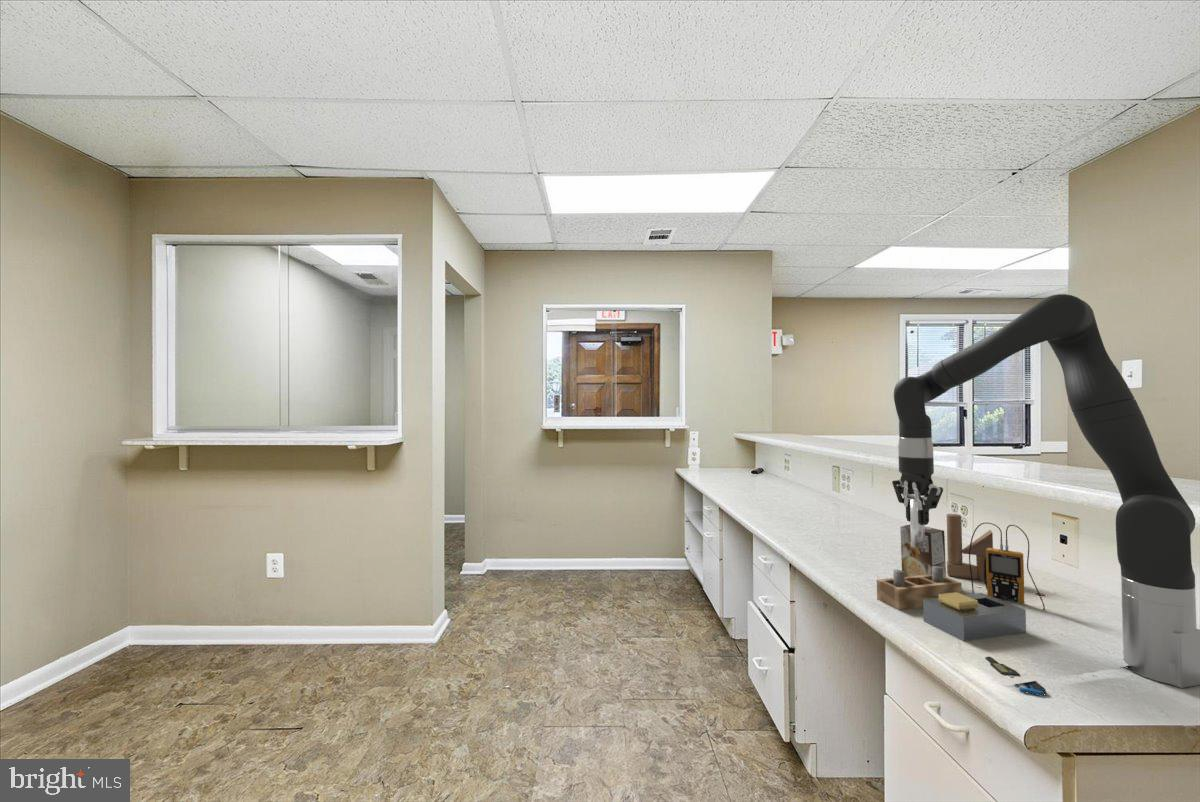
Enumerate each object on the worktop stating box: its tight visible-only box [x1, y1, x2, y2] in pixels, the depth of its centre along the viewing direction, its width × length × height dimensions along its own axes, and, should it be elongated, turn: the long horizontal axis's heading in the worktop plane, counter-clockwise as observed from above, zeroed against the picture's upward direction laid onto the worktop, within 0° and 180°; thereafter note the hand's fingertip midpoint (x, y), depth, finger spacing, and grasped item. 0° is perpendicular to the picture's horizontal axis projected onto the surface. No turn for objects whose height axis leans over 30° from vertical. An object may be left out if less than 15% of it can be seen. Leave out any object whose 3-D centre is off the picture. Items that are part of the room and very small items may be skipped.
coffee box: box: [899, 524, 947, 577], centre depth 138 cm, size 9×6×16 cm
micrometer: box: [984, 656, 1047, 696], centre depth 92 cm, size 12×2×5 cm
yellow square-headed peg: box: [939, 592, 978, 611], centre depth 109 cm, size 5×5×6 cm
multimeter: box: [968, 522, 1046, 611], centre depth 123 cm, size 15×10×20 cm
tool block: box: [922, 592, 1027, 642], centre depth 110 cm, size 16×10×6 cm, turn 102°
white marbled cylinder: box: [909, 498, 925, 548], centre depth 125 cm, size 3×3×12 cm
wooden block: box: [946, 513, 994, 582], centre depth 144 cm, size 4×11×18 cm, turn 59°
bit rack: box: [876, 566, 963, 611], centre depth 125 cm, size 19×7×9 cm, turn 102°
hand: (917, 522), depth 125 cm, fingers closed on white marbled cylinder, 3 cm apart
